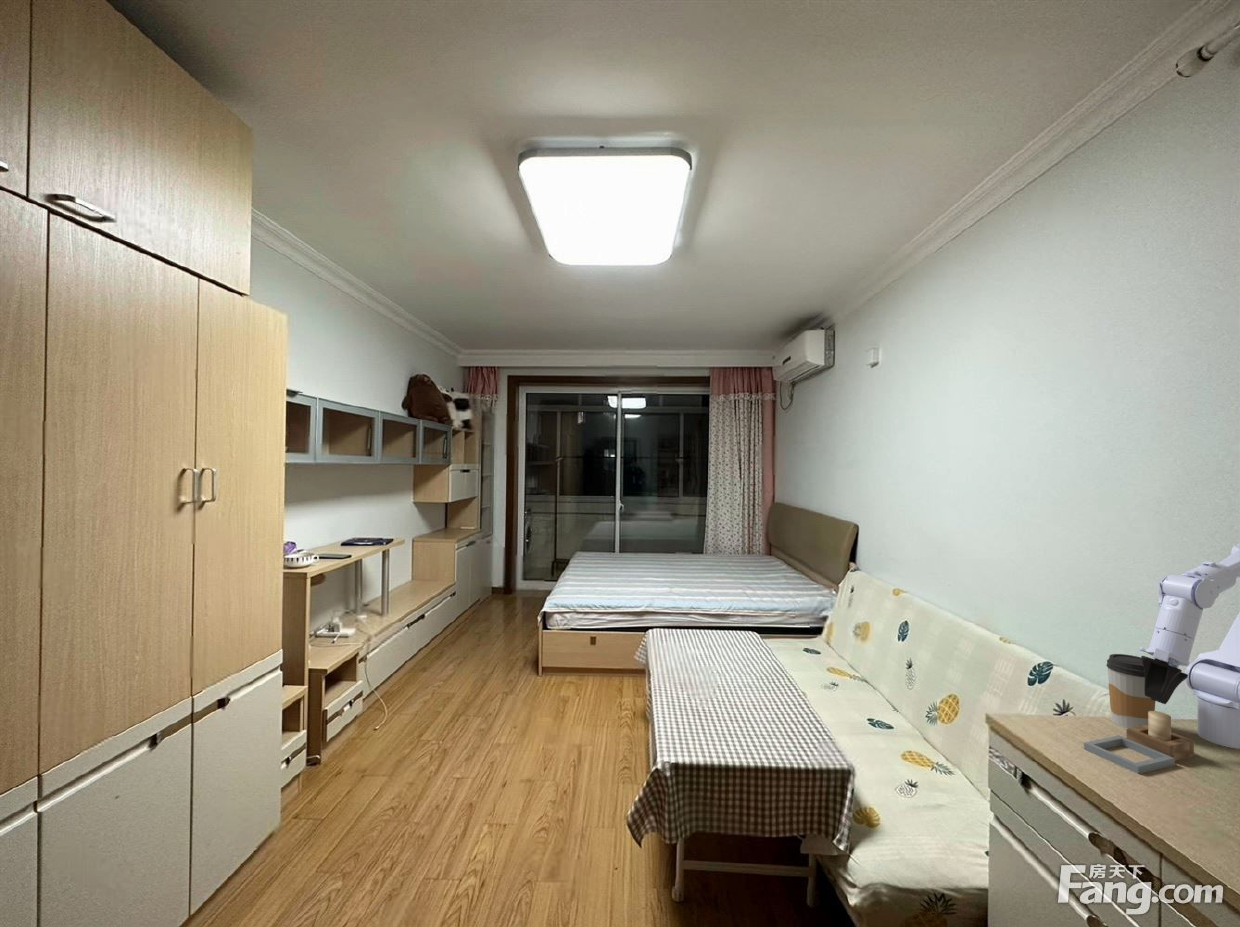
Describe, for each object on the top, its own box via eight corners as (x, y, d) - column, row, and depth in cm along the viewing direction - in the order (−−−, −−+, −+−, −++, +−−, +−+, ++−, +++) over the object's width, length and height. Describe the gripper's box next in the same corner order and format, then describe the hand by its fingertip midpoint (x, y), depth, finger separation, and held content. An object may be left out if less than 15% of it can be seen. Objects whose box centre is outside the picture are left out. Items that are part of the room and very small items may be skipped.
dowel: (1155, 744, 111) (1155, 710, 111) (1175, 752, 108) (1175, 717, 108) (1144, 747, 110) (1144, 712, 110) (1164, 755, 107) (1164, 719, 107)
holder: (1150, 743, 113) (1150, 724, 113) (1193, 761, 106) (1193, 740, 106) (1126, 748, 111) (1126, 729, 111) (1169, 767, 104) (1169, 746, 104)
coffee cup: (1169, 740, 115) (1169, 668, 115) (1122, 736, 116) (1122, 665, 116) (1140, 721, 123) (1140, 654, 123) (1097, 718, 124) (1097, 651, 124)
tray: (1119, 746, 112) (1119, 735, 112) (1174, 770, 103) (1174, 758, 103) (1084, 754, 109) (1084, 742, 109) (1138, 779, 100) (1138, 766, 100)
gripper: (1152, 632, 117) (1134, 694, 116) (1141, 620, 108) (1121, 686, 107) (1199, 646, 111) (1181, 711, 110) (1191, 634, 103) (1171, 704, 101)
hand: (1155, 700), depth 108 cm, fingers open, 7 cm apart
